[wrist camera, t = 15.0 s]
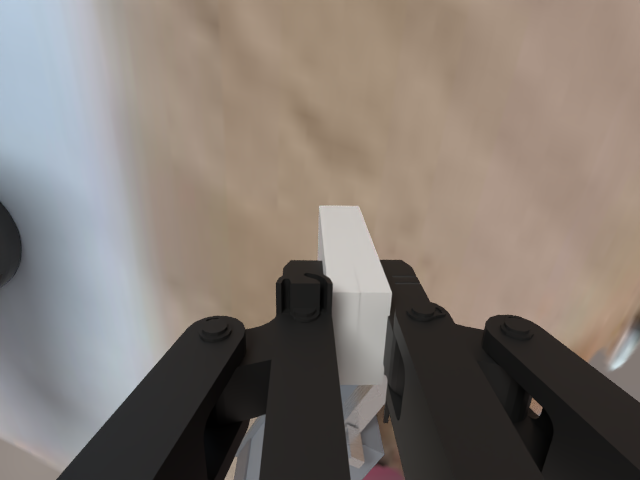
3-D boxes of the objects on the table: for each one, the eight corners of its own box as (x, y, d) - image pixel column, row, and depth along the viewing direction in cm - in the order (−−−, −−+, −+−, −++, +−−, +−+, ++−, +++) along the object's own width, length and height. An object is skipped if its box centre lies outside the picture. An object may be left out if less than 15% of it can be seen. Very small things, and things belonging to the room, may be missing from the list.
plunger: (374, 326, 46) (388, 379, 38) (418, 349, 47) (441, 405, 39) (294, 430, 51) (292, 496, 43) (336, 448, 52) (342, 515, 45)
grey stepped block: (357, 277, 50) (374, 344, 38) (431, 317, 53) (468, 392, 41) (234, 450, 60) (216, 546, 48) (301, 477, 63) (300, 574, 51)
